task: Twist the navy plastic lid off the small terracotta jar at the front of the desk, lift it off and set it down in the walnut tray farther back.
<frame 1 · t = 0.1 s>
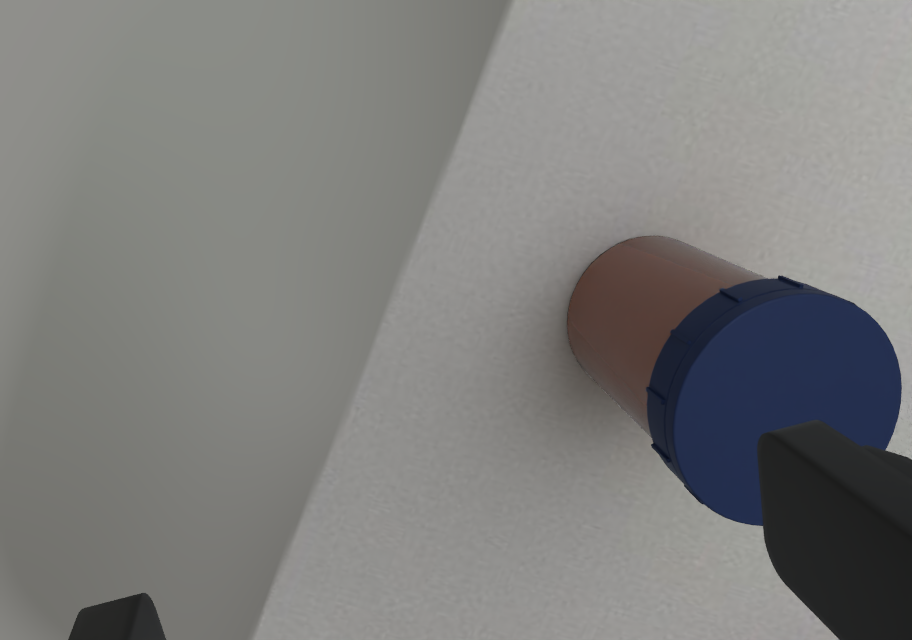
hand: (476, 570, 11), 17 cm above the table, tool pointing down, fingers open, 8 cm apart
lid: (779, 406, 21), point 8 cm above the table, screwed on, not yet turned
jar: (644, 315, 29), on the table
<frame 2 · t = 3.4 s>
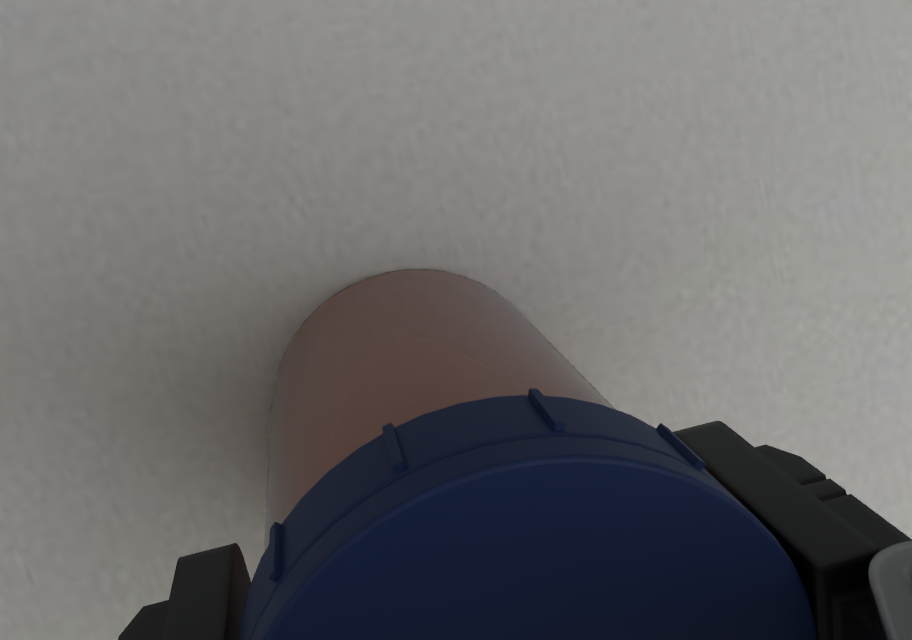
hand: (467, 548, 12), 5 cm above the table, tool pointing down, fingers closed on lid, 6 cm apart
jar: (414, 406, 17), on the table
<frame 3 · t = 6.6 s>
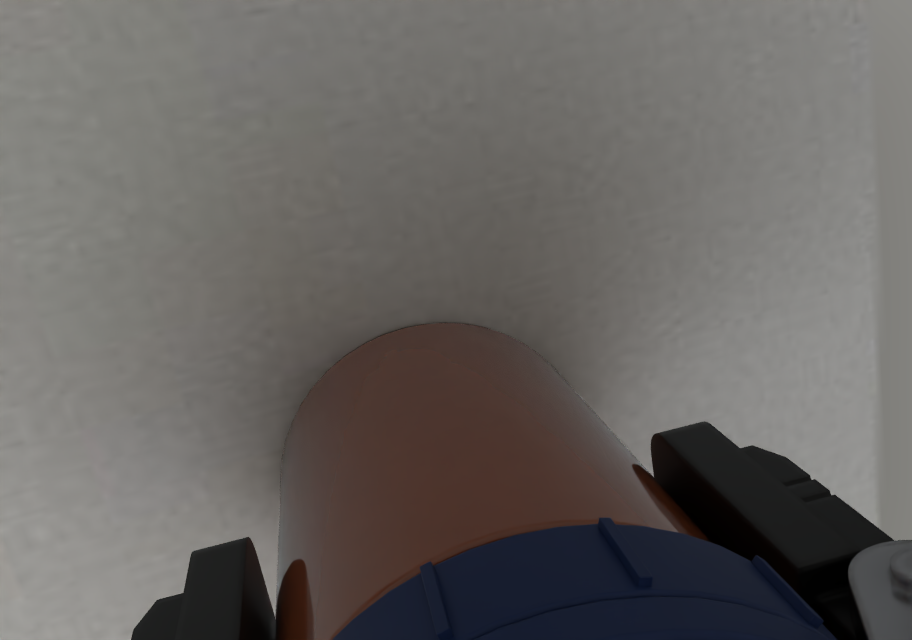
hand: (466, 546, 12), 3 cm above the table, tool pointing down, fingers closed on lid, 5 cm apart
jar: (438, 470, 15), on the table, touching gripper
when the fingers open (3 cm above the table, at t = 6.8 s): lid stays where it is, point 9 cm above the table.
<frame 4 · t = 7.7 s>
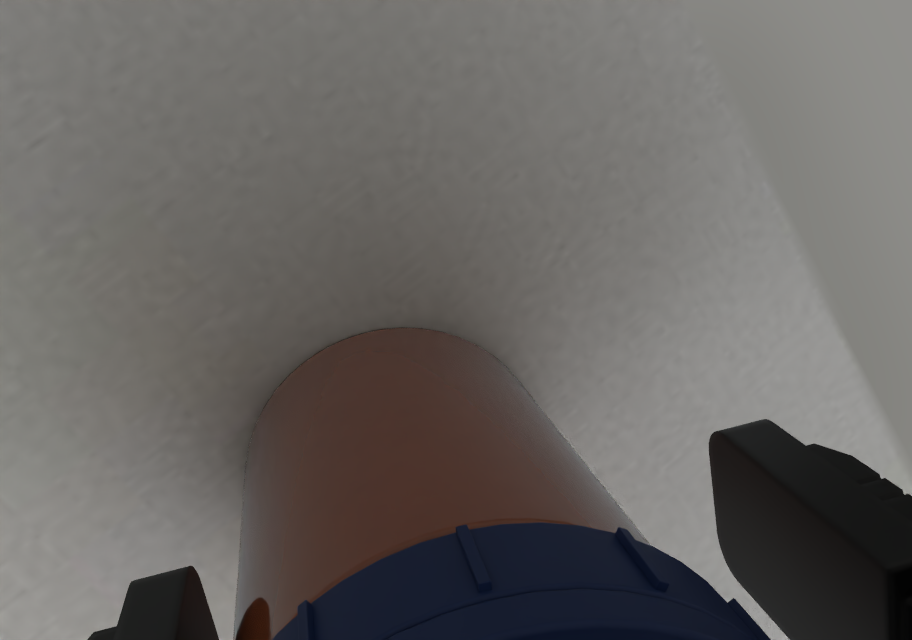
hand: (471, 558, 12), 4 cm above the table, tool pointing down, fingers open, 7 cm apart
jar: (398, 470, 16), on the table
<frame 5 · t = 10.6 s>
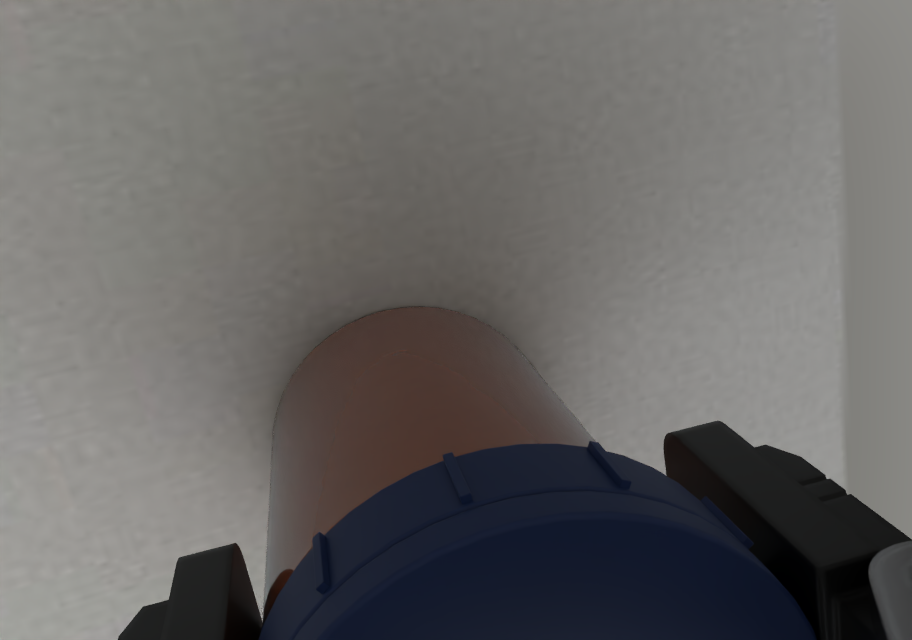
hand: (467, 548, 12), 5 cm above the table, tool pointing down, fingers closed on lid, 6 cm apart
jar: (413, 439, 17), on the table, touching gripper, lid
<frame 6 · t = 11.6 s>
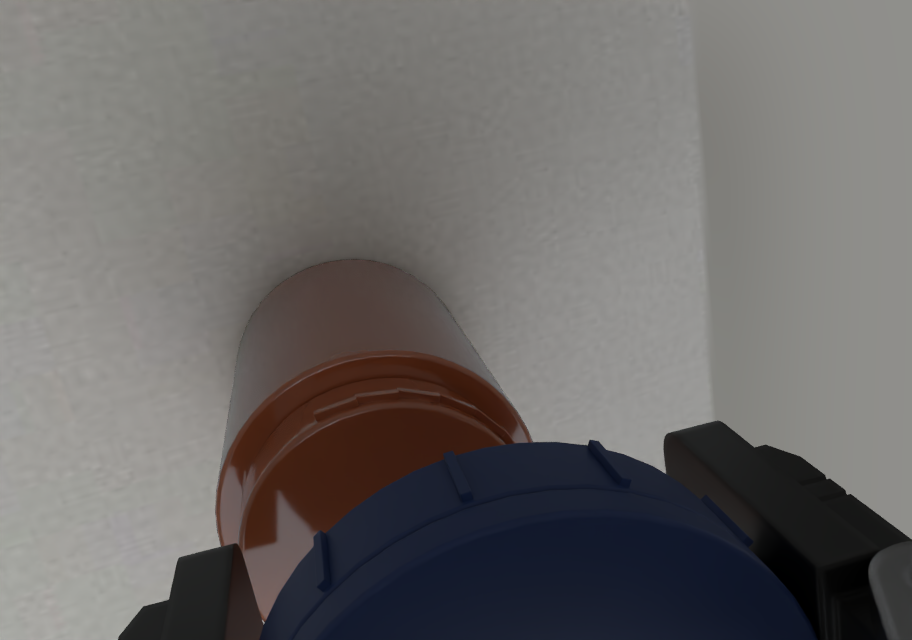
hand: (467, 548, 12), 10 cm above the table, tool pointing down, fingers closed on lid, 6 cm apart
jar: (352, 368, 21), on the table
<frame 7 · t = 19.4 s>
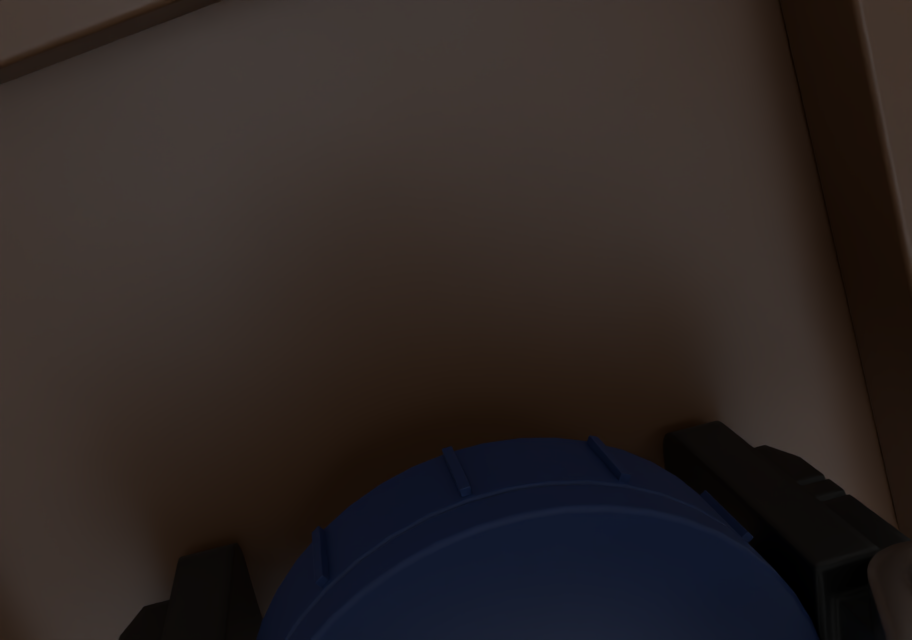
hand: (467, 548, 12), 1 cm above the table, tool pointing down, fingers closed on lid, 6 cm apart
tray: (461, 528, 12), on the table
when the fingers open (2 cm above the table, at t = 28.1 s): lid drops 3 cm, resting on tray.
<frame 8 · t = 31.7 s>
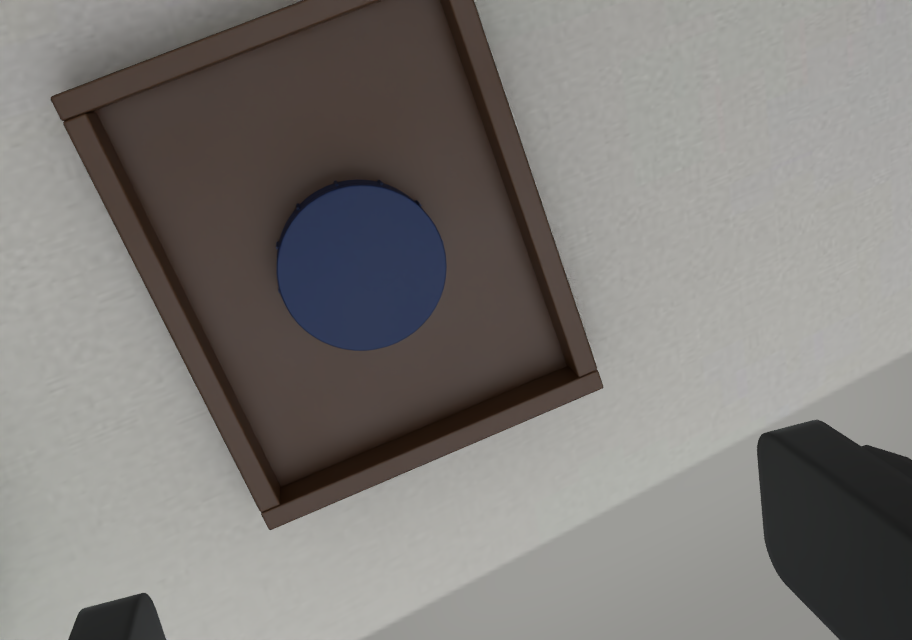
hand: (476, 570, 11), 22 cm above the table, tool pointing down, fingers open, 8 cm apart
tray: (351, 246, 32), on the table
lid: (362, 267, 31), point 2 cm above the table, off its thread, touching tray
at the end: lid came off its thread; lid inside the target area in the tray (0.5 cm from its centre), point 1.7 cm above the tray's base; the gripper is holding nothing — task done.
